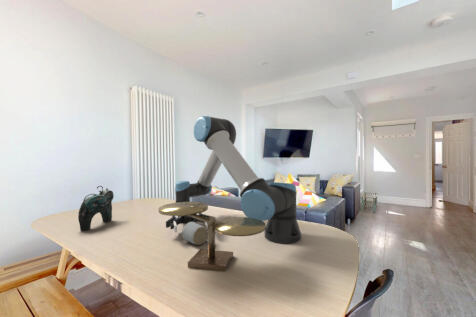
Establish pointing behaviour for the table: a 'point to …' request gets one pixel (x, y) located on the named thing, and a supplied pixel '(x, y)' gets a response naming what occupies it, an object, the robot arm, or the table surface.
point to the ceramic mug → (195, 233)
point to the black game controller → (95, 208)
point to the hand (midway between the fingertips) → (193, 226)
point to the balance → (213, 233)
